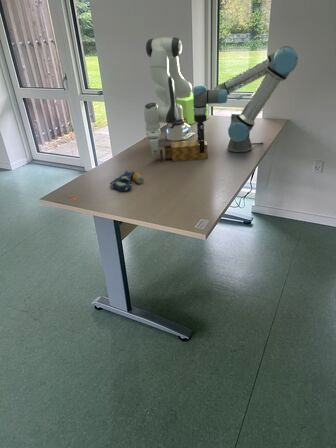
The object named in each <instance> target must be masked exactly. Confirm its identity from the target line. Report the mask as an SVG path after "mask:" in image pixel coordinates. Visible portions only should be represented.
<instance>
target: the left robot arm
mask: <svg viewBox="0 0 336 448" xmlns="http://www.w3.org/2000/svg"><path fill="white" fill-rule="evenodd" d="M145 50H146V51H145V53H146V54H147V56H148V57H149V59H150V61H149V77H150V80H151V82H153V83H154V84H156V85H155V88H154V94H155V96H156V98H158V99H159V100H160V101H161V102H162V103H163V104H164V106H163V105H158V104H157V103H156V102H150V103H146V104H145V105H144V107H143V116H144V122H145V134H146V136H147V139H148V140H149V146H150V149H151V152H152V151H154V153H155V152H159V149H158V148H159V138H160V135H161V134H162V131H161V124H167V128H166V140H168V141H171V142H178V141H187V140H188V139H190V138H191V137H193V136H195V135H196V133H195V132H194V131H192V126H191V125H189V124H186V123H185V121H184V120H187V118H185V117H184V118H183V111H182V107H181V105H179V104H177V103H176V98H186V97H189V96H190V95H191V93H193V86H192V84H191V83H190V81H188V80H187V79H185V78H184V77H183V75H182V73H181V70H180V63H179V56H180V55H181V54H182V50H183V45H182V41H181V39H180V38H179V37H175V36H174V37H167V36H166V37H165V36H163V37H157V38H150V39H148V40H147V41H146V43H145Z"/></svg>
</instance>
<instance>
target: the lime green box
mask: <svg viewBox="0 0 336 448" xmlns="http://www.w3.org/2000/svg"><path fill="white" fill-rule="evenodd" d="M176 103H177V104H179V105H181V107H182V111H183V118H184V117H185V118H187V120H184V121H185V123H186V124H189V126H191V125H192V124H197V122H195V121H194V115H195V114H194V111H193V109H194V102H193V92H192V93H191V95H190V96H189V97H186V98H176ZM206 106H207V113H206V115H207V120H208V119H209V104H206Z"/></svg>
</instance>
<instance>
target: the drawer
mask: <svg viewBox="0 0 336 448" xmlns="http://www.w3.org/2000/svg"><path fill="white" fill-rule="evenodd" d="M158 150H159V151H157V152H155V153H154V151H152V150H151V155H157V154H160V161H164V159H167V160H168V159H172V149H171V144H167V145H166V144H165V145H164V153H163V145H162V144H160V145H159V147H158Z"/></svg>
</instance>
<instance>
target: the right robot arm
mask: <svg viewBox="0 0 336 448" xmlns="http://www.w3.org/2000/svg"><path fill="white" fill-rule="evenodd" d="M298 61H299V56H298V53H297V51H296V50H295V49H294V48H293V47H291V46H288V45H284V46H281V47H280V48H278V49H277V50H275V51H274V52H272V53H270V54H269V55H267V56H266V58H265V59H264V60H262V61H260V62H257V64H254V65H253V66H251V67H249V68H248V69H245V70H244V71H241V72H239V74H236V75H235V76H233V77H231V78H230V79H228V80H225V81H224V82H222V83H220V84H217V85H216V86H215V87H214V88H213V89H207V86H205V85H196V86H194V87H193V88H192V93H193V102H194V109H193V111H194V114H195V115H194V121H195V122H196V128H197V129H196V130H197V131H196V133H197V134H196V135H197V140H200V142H199V143H200V153H204V143H205V141H206V140H205V141H204V139H205V123H204V122H206V121H207V120H208V119H207V115H206V113H207V106H206V104H208V105H209V104H220V105H221V104H226V103H227V102H228V96H229V95H230V94H232V93H234V92H236V91H238V90H240V89H242V88H244V87H247V86H248V85H250V84H252V83H254V82H256V81H257V80H260V79H261V78H262V80H261V82H260V83H259V85H258V86H257V88H256V89H255V91H254V92H253V94H252V95H251V97H250V98H249V100H248V102H247V103H246V104H245V106H244V108H243V110H242V111H238V112H232V113H231V115H230V124H229V127H228V129H227V133H228V137H229V141H228V144H227V150H228V151H229V152H231V153H237V154H241V153H248V152H250V151H252V149H253V146H254V145H255V146H257V145H264V142H252V141H251V138H250V134H251V133H250V132H251V130H252V129H253V128H254V126H255V125H256V123H255V120H256V119H257V117H258V115H259V114H260V113H261V111H262V109H263V108H264V107H265V105H266V104H267V102H268V101H269V100H270V98H271V96H273V93H274V92H275V91H276V89H277V88H278V86H279V85H280V83H282V82H284V81H286V79H287V78H288V77H289V75H290V74H291V73H292V72H293V71H294V70H295V68H296V67H297V66H298ZM201 140H203V141H201Z"/></svg>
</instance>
